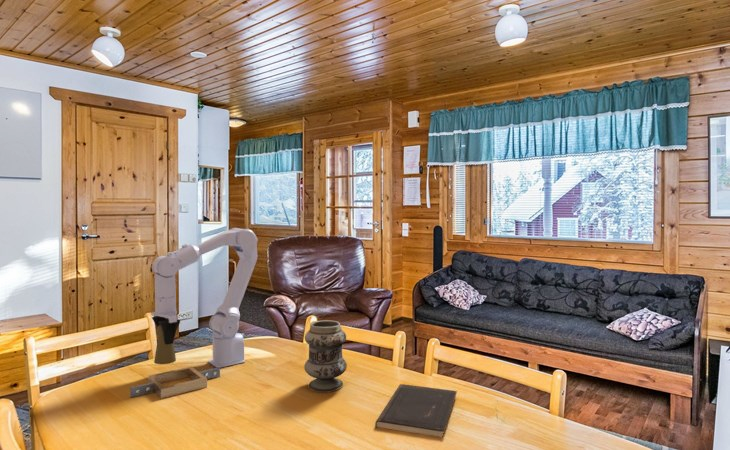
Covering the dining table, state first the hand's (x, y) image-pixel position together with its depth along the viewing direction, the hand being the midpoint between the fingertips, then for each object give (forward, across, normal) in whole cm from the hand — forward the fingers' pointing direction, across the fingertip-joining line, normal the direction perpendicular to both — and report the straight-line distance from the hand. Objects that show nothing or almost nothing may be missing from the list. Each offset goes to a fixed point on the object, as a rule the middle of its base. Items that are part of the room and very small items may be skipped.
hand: (166, 341), depth 141 cm
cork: (+6, 0, 0) cm, 6 cm away
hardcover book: (+11, +64, +42) cm, 77 cm away
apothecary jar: (+11, +36, +33) cm, 50 cm away
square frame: (+10, +10, 0) cm, 14 cm away
